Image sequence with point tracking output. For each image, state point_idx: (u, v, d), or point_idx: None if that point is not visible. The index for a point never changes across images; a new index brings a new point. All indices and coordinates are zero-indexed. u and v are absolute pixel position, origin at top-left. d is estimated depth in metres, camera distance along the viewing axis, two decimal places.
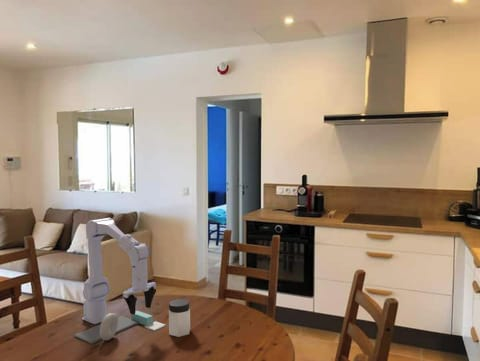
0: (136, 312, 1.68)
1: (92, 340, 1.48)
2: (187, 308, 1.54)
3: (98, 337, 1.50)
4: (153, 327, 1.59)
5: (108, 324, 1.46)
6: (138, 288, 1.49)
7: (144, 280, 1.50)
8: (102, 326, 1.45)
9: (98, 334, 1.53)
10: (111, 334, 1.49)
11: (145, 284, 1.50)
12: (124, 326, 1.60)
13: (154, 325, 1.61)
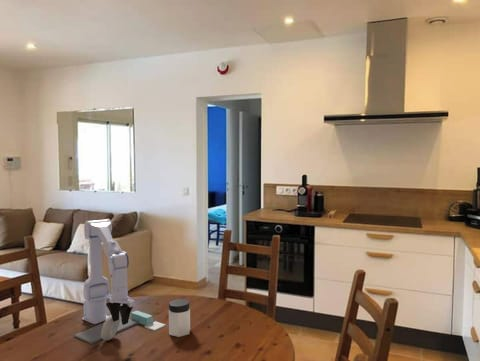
0: (136, 312, 1.68)
1: (92, 340, 1.48)
2: (187, 308, 1.54)
3: (98, 337, 1.50)
4: (153, 327, 1.59)
5: (110, 326, 1.45)
6: None
7: (112, 291, 1.43)
8: (104, 327, 1.45)
9: (98, 334, 1.53)
10: (112, 335, 1.49)
11: (113, 296, 1.42)
12: (124, 326, 1.60)
13: (154, 325, 1.61)
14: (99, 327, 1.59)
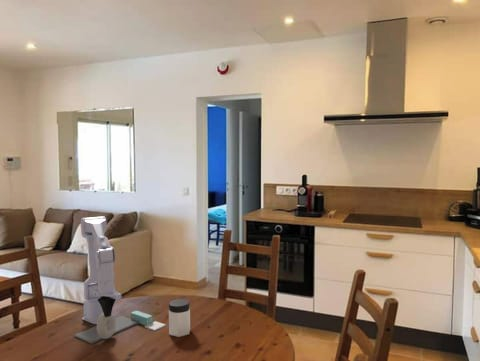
0: (136, 312, 1.68)
1: (92, 340, 1.48)
2: (187, 308, 1.54)
3: (98, 337, 1.50)
4: (153, 327, 1.59)
5: (104, 321, 1.47)
6: None
7: (99, 285, 1.47)
8: (98, 324, 1.46)
9: (98, 334, 1.53)
10: (110, 332, 1.49)
11: (100, 290, 1.46)
12: (124, 326, 1.60)
13: (154, 325, 1.61)
14: None
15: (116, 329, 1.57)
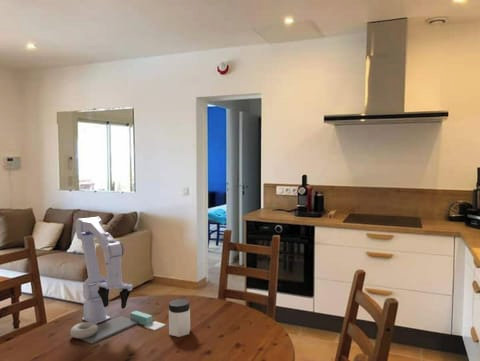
0: (135, 312, 1.67)
1: (92, 340, 1.48)
2: (187, 308, 1.54)
3: (98, 337, 1.50)
4: (153, 327, 1.60)
5: (72, 328, 1.51)
6: (106, 284, 1.54)
7: (110, 278, 1.52)
8: (70, 333, 1.50)
9: (98, 334, 1.53)
10: (87, 328, 1.51)
11: (111, 282, 1.52)
12: (124, 326, 1.60)
13: (154, 325, 1.61)
14: (99, 327, 1.59)
15: (116, 329, 1.57)
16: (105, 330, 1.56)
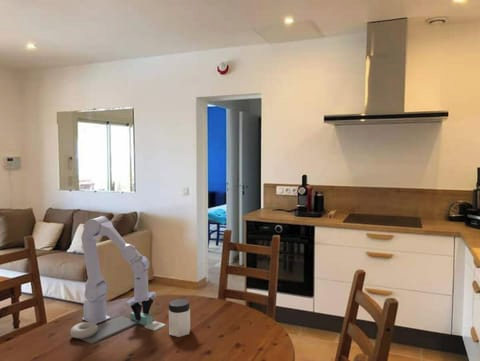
0: None
1: (92, 340, 1.48)
2: (187, 308, 1.54)
3: (98, 337, 1.50)
4: (153, 327, 1.60)
5: (72, 328, 1.51)
6: (140, 298, 1.63)
7: (145, 290, 1.63)
8: (70, 333, 1.50)
9: (98, 334, 1.53)
10: (87, 328, 1.51)
11: (146, 294, 1.64)
12: (124, 326, 1.60)
13: (154, 325, 1.61)
14: (99, 327, 1.59)
15: (116, 329, 1.57)
16: (105, 330, 1.56)
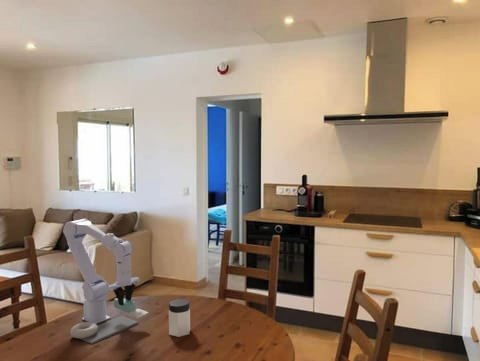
0: None
1: (92, 340, 1.48)
2: (187, 308, 1.54)
3: (98, 337, 1.50)
4: (135, 314, 1.57)
5: (72, 328, 1.51)
6: (122, 282, 1.60)
7: (128, 275, 1.61)
8: (70, 333, 1.50)
9: (98, 334, 1.53)
10: (87, 328, 1.51)
11: (129, 279, 1.61)
12: (124, 326, 1.60)
13: (137, 312, 1.59)
14: (99, 327, 1.59)
15: (116, 329, 1.57)
16: (105, 330, 1.56)
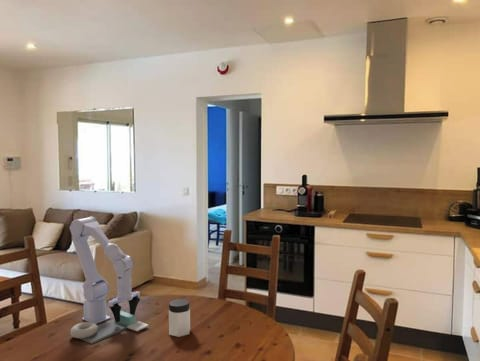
0: None
1: (92, 340, 1.48)
2: (187, 308, 1.54)
3: (98, 337, 1.50)
4: (136, 327, 1.57)
5: (72, 328, 1.51)
6: (122, 297, 1.60)
7: (128, 290, 1.61)
8: (70, 333, 1.50)
9: (98, 334, 1.53)
10: (87, 328, 1.51)
11: (129, 294, 1.62)
12: (124, 326, 1.60)
13: (137, 325, 1.59)
14: (99, 327, 1.59)
15: (116, 329, 1.57)
16: (105, 330, 1.56)
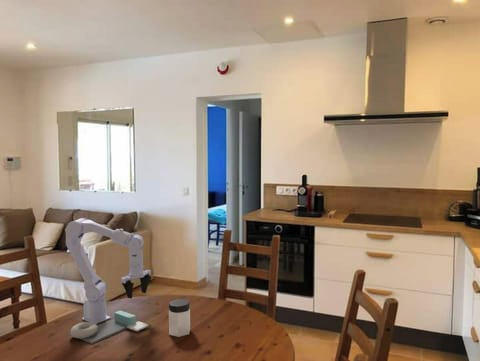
0: (119, 312, 1.66)
1: (92, 340, 1.48)
2: (187, 308, 1.54)
3: (98, 337, 1.50)
4: (136, 327, 1.57)
5: (72, 328, 1.51)
6: (135, 275, 1.65)
7: (140, 267, 1.66)
8: (70, 333, 1.50)
9: (98, 334, 1.53)
10: (87, 328, 1.51)
11: (141, 271, 1.67)
12: (124, 326, 1.60)
13: (137, 325, 1.59)
14: (99, 327, 1.59)
15: (116, 329, 1.57)
16: (105, 330, 1.56)
